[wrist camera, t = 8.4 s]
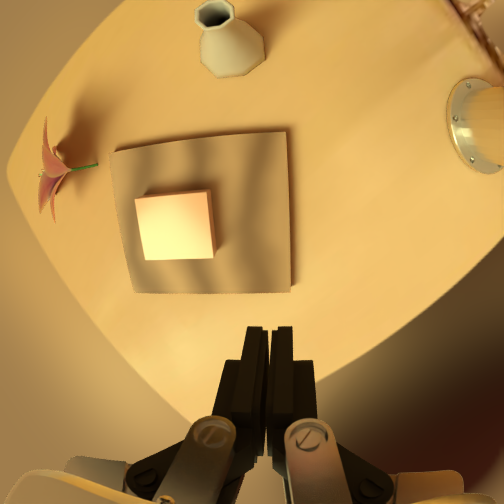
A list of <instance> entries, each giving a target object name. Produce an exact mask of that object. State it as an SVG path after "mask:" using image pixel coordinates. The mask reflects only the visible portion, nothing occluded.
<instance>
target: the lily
mask: <svg viewBox="0 0 504 504" xmlns="http://www.w3.org/2000/svg"><path fill="white" fill-rule="evenodd" d="M56 148H57V146H54V147H53V148H52V150H53V153H54V154H53V153H51V151H50V148H49V145H48V139H47V116H46V119H45V124H44V130H43V145H42V159H43V166H44V169H41V170H43V171H42V172H43V173H42V174H38V175H40V176H41V178H40V183H39V194H38V196H39V211H40V213H41V212H42V209H43V207H44V206H45V205H46V203H47V202H48V201H49V199H50V206H51V212H52V216H53V220H54V222H55V214H54V197H55V193H56V190H57V188H58V186H59V184H60V182H61V180H62V179H63V177H64V176H65V175H66V173H67V172H69V171H75V170H81V169H86V168H90V167H94V166H98V164H93V165H88V166H84V167H79V168H71V169H70V168H68V167H66V166H65V164H64V163H63V162H62V161H61V160H60V159H59V158H58V157H57V156H56ZM40 176H38V177H40Z"/></svg>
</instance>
